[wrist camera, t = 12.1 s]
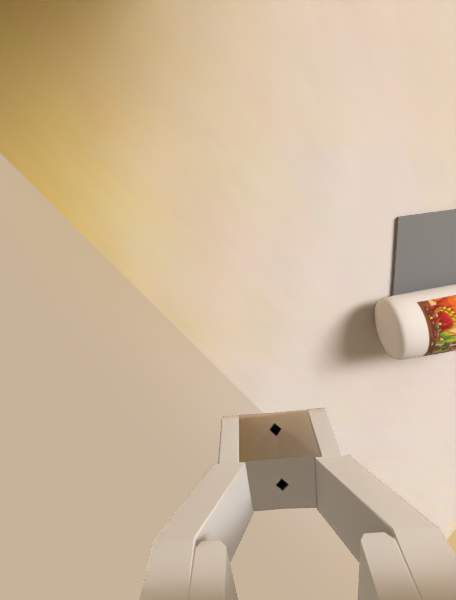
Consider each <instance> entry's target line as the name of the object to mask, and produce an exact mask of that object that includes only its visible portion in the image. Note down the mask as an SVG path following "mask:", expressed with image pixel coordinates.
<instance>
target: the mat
mask: <svg viewBox="0 0 456 600" xmlns="http://www.w3.org/2000/svg"><path fill="white" fill-rule="evenodd" d="M453 284H456V209H454V210H446V211H439V212H431V213H424V214H416V215H409V216H401V217H397V226H396V241H395V256H394V271H393V286H392V296H394V295H400V294H405V293H410V292H415V291H421V290H426V289H431V288H437V287H442V286H448V285H453Z"/></svg>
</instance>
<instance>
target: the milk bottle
mask: <svg viewBox="0 0 456 600" xmlns="http://www.w3.org/2000/svg"><path fill="white" fill-rule="evenodd" d="M375 323H376V328H377V332H378V335H379V338H380V341H381V343H382V345H383V347H384V349H385V350H386V352H387V353H388V354H389V355H390V356H391V357H392V358H395V359H399V360H401V359H408V358H414V357H421V356H427V355H432V354H438V353H444V352H450V351H456V284H453V285H448V286H442V287H437V288H431V289H426V290H421V291H415V292H410V293H405V294H400V295H394V296H390V297H385V298H382V299H380V300H379V301H378V302H377V304H376V307H375Z"/></svg>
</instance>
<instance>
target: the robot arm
mask: <svg viewBox="0 0 456 600" xmlns="http://www.w3.org/2000/svg"><path fill="white" fill-rule="evenodd" d="M284 508H285V509H286V508H317V510H318V511H319V512H320V513H321V515H322V516H323V517H324V518H325V520H326V521H327V522H328V523H329V525H330V526H331V527H332V529H333V530H334V531H335V532H336V534H337V535H338V536H339V537H340V539H341V540H342V541H343V542H344V544H345V545H346V546H347V548H348V549H349V550H350V551H351V553H352V554H353V555H354V556H355V558H356V559H357V560H358V562H359V563H360V564H359V588H358V600H456V556H455V554H454V553H453V551H452V549H451V547H450V545H449V544H448V542H447V540H446V538H445V537H444V535H443V533H442V531H441V530H440V528H439V527H438V526H436V525H435V524H434V523H433V522H432V521H430V520H429V519H428V518H427V517H425V516H424V515H423V514H422V513H420V512H419V511H418V510H417V509H415V508H414V507H413V506H412V505H410V504H409V503H408V502H407V501H406V500H404V499H403V498H402V497H401V496H399V495H398V494H397V493H396V492H394V491H393V490H392V489H391V488H389V487H388V486H387V485H386V484H385V483H383V482H382V481H381V480H380V479H378V478H377V477H376V476H375V475H373V474H372V473H371V472H370V471H368V470H367V469H366V468H365V467H364V466H362V465H361V464H360V463H359V462H357V461H356V460H355V459H354V458H352V457H351V456H350V455H343V453H342V450H341V448H340V445H339V442H338V440H337V437H336V434H335V432H334V429H333V426H332V424H331V421H330V418H329V416H328V413H327V410H326V409H325V408H317V409H307V410H298V411H287V412H276V413H263V414H247V415H236V416H223V417H222V421H221V433H220V446H219V461H218V464H213V465H212V466H211V468H210V469H209V470H208V471H207V473H206V474H205V475H204V477H203V478H202V479H201V481H200V482H199V483H198V484H197V486H196V487H195V488H194V490H193V491H192V492H191V494H190V495H189V496H188V497H187V499H186V500H185V501H184V502H183V504H182V505H181V506H180V508H179V509H178V510H177V512H176V513H175V514H174V516H173V517H172V518H171V519H170V521H169V522H168V523H167V525H166V526H165V527H164V528H163V530H162V531H161V532H160V534H159V535H158V536H157V538H156V539H155V540H154V541H153V545H152V550H151V554H150V558H149V562H148V566H147V571H146V575H145V579H144V583H143V587H142V592H141V596H140V600H238V598H237V593H236V589H235V584H234V580H233V576H232V571H231V567H230V562H231V560H232V558H233V556H234V554H235V551H236V549H237V547H238V545H239V543H240V541H241V538H242V537H243V535H244V532H245V530H246V528H247V526H248V524H249V522H250V519H251V517H252V515H253V511H261V510H274V509H284Z"/></svg>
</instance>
